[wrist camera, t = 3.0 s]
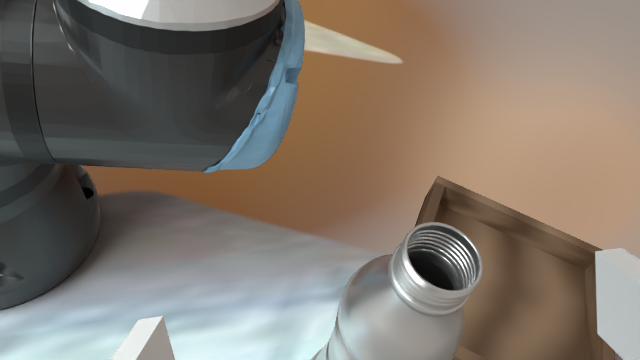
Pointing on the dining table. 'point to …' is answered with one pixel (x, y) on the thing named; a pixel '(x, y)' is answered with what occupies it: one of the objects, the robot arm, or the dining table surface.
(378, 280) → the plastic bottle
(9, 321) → the dining table surface
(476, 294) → the walnut tray
